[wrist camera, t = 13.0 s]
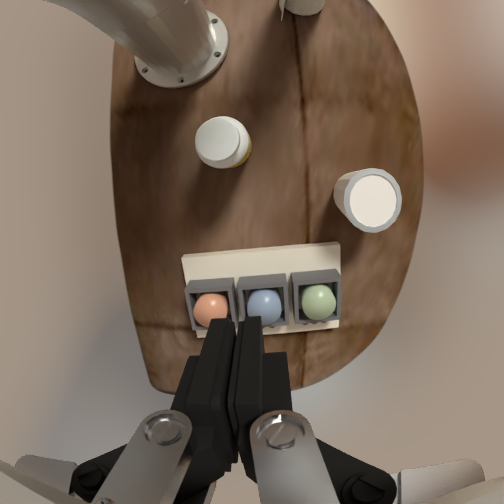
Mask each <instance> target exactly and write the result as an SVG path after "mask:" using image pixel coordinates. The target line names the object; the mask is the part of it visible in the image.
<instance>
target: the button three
mask: <svg viewBox="0 0 504 504" xmlns="http://www.w3.org/2000/svg"><path fill="white" fill-rule="evenodd" d="M299 295H300V300H301V303H302V307H303V311H304V313H305V315H306V316H307V317H309V318H310V319H313V320H322V319H325V318H327V317H329V316H330V315H331V314H332V313H333V312H334V310H335V307H336V300H335V297H334V295H333V293H332V291H331V289H330V287H329V286H328V284H327V283H318V284H308V285H302V287H301V289H300V293H299Z"/></svg>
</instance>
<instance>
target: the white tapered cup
mask: <svg viewBox="0 0 504 504" xmlns="http://www.w3.org/2000/svg"><path fill="white" fill-rule="evenodd" d="M333 197H334V200H335V204H336V205H337V207H338V208H339V209H340V211H341V212H342V213H343V214H344V215H345V216H346V217H347V218H348V219H349V221H350V222H351V223H352V224H353V225H354V226H355V227H357V228H359V229H361V230H362V231H364V232H373V233H376V232H379V231H382V230H385V229H387V228H388V227H389V226H390V225H391V224H392V223H394V222H395V220H396V218H397V216H398V214H399V212H400V210H401V202H402V197H401V192H400V188H399V185H398V184H397V182H396V181H395V179H394V178H393V176H391V175H390V174H388V173H387V172H385V171H384V170H381V169H375V168H369V169H364V170H360V171H355V172H351V173H347V174H344V175H343V176H342V177H341V178H339V179H338V181H337V183H336V185H335V187H334V193H333Z"/></svg>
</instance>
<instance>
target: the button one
mask: <svg viewBox="0 0 504 504" xmlns="http://www.w3.org/2000/svg"><path fill="white" fill-rule="evenodd" d="M228 307H229V297H228V295H227V293H226V292H225V291H219V292H202V293H201V294H200V296H199V298H198V300H197V302H196V304H195V307H194V310H193V314H194V317H195V319H196V320H197V322H198V323H199V324H201V325H202V326H205V327H209V324H210V321H211V319H213V318H226V316H227V311H228Z"/></svg>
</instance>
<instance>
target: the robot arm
mask: <svg viewBox="0 0 504 504" xmlns="http://www.w3.org/2000/svg"><path fill="white" fill-rule="evenodd" d="M44 1H47V2H51V3H54V4H57V5H59V6H62V7H64V8H67V9H68V10H71V11H72V12H74V13H76V14H77V15H79V16H81V17H82V18H84V19H85V20H87V21H88V22H90V23H91V24H93V25H94V26H95V27H97V28H98V29H100V30H101V31H102V32H104V33H105V34H107V35H108V36H110V37H111V38H112V39H113V40H115V41H116V42H118V43H119V44H120V45H122V46H123V47H124V48H126V49H127V50H128V51H129V52H131V53H132V54H133V55H135V64H136V67H137V69H138V71H139V73H140V74H141V76H143V77H144V78H145V79H146V80H147V81H149V82H150V83H152V84H154V85H156V86H159V87H163V88H182V87H187V86H190V85H193V84H196V83H198V82H200V81H202V80H204V79H205V78H206V77H208V76H209V75H211V74H212V73H213V72H214V71H215V70H216V69H217V68H218V67H219V66H220V64H221V63H222V62H223V60H224V58H225V56H226V54H227V51H228V47H229V36H228V32H227V29H226V26H225V24H224V23H223V22H222V20H221V19H220V18H219V17H218V16H216V15H215V14H213V13H211V12H209V11H206V8H205V6H204V3H203V1H202V0H44ZM214 23H215V24H214ZM217 56H220V57H217ZM146 71H147V72H146ZM182 80H184V82H183V83H181V81H182ZM238 453H239V454H240V457H241V461H242V463H243V465H244V469H245V472H246V475H247V476H248V477H249V478H250V479H251V480H253V481H254V482H255V483H257V485H258V490H259V496H260V502H261V504H504V477H500V478H495V479H491V480H487V481H485V477H484V472H483V470H482V467H481V465H480V464H478V463H477V462H476V461H474V460H471V459H462V460H457V461H452V462H448V463H443V464H437V465H432V466H426V467H419V468H412V469H404V470H401V471H400V472H399V473H391V474H388V473H386V472H385V471H383V470H381V469H379V468H376V467H374V466H372V465H369V464H367V463H365V462H363V461H360V460H358V459H356V458H354V457H352V456H350V455H348V454H346V453H344V452H342V451H340V450H338V449H336V448H334V447H332V446H330V445H328V444H326V443H324V442H322V441H321V440H319V439H317V438H315V436H314V433H313V430H312V428H311V425H310V423H309V422H308V420H307V419H306V418H305V417H303V416H302V415H301V414H299V413H296V412H294V411H293V410H292V401H291V390H290V381H289V372H288V363H287V354H286V352H274V353H265V350H264V340H263V330H262V319H261V316H250V317H245V318H244V321H239V322H238V329H237V335H236V328H235V323H234V322H229V320H228V318H213V319H211V321H210V324H209V327H208V331H207V334H206V337H205V340H204V343H203V347H202V350H201V353H200V356H189V358H188V360H187V363H186V366H185V369H184V371H183V374H182V377H181V380H180V383H179V386H178V388H177V391H176V394H175V397H174V400H173V403H172V406H171V409H170V410H161V411H157V412H154V413H152V414H150V415H149V416H147V417H146V418H145V419H144V420H143V421H142V422H141V423H140V425H139V427H138V428H137V430H136V431H135V433H134V435H133V436H132V438H131V440H130V441H129V443H128V444H125V445H123V446H121V447H119V448H117V449H114V450H112V451H110V452H108V453H105V454H103V455H101V456H98V457H96V458H93V459H91V460H89V461H86V462H84V463H82V464H80V465H77V464H76V463H75V462H69V461H62V460H56V459H50V458H44V457H39V456H34V455H25V456H23V457H21V458H20V459H19V460H18V461H17V462H16V464H15V467H13V466H11V465H10V464H8V463H6V462H3V461H1V460H0V504H210V502H211V499H212V497H213V494H214V491H215V488H216V480H218V479H219V478H221V477H222V476H224V473H225V472H231V464H232V463H237V462H238Z"/></svg>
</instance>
